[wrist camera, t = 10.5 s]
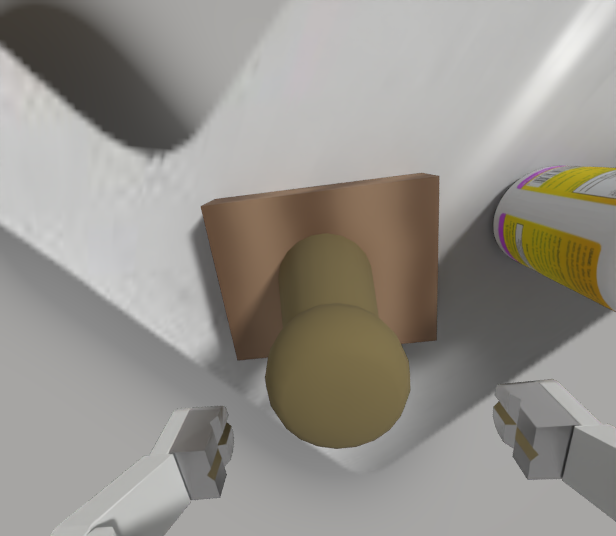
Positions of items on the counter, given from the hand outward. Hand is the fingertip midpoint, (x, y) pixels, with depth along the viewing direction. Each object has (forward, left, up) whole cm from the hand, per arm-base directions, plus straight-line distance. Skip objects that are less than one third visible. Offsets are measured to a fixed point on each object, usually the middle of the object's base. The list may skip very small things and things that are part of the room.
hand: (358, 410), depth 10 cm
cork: (+1, 0, -12) cm, 12 cm away
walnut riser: (0, 0, -14) cm, 14 cm away
